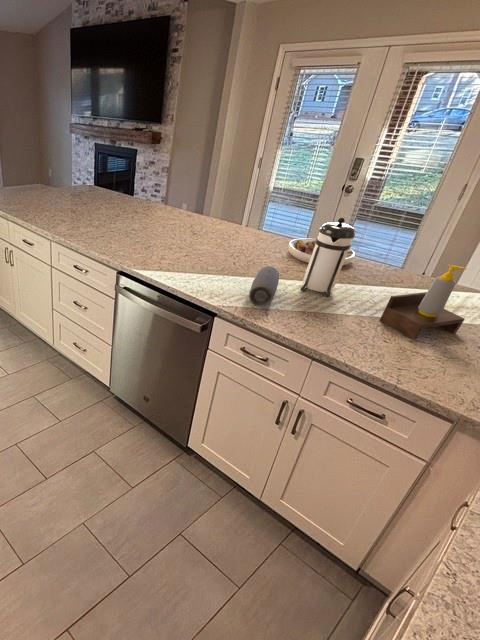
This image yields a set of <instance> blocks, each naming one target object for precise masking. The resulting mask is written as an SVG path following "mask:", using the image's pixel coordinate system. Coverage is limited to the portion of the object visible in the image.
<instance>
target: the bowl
mask: <svg viewBox="0 0 480 640" xmlns="http://www.w3.org/2000/svg"><path fill="white" fill-rule="evenodd" d="M316 239H317V238H295V239H292V240H291V241H289V243H288V246H287V247H288V251H289V253H290V255H291V256H293V257H294V258H296V259H297V260H299V261H300V262H301V261H302V262H303V263H307V264H309V261H310V258H311V256H312V253H313V250H314V247H315V244H316V243H315V242H316ZM355 256H356V253H355V250H353V249H351V248H350V249H349V250H348V253H347V255H346V258H345V261H344V263H343V266H346V265H348V264H350V263H352V261H353V260H354V259H355Z"/></svg>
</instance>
